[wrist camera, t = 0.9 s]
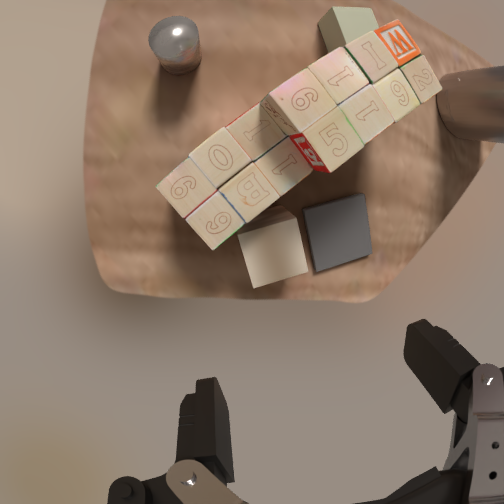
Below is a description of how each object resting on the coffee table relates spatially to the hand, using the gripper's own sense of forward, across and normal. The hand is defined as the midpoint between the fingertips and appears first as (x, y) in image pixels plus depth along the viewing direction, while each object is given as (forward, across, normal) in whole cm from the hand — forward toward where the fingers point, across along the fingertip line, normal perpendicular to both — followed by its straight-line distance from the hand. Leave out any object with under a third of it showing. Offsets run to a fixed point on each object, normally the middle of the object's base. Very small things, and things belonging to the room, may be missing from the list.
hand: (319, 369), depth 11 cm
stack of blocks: (+21, -4, -9) cm, 23 cm away
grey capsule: (+20, +4, -19) cm, 28 cm away
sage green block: (+21, -13, -19) cm, 31 cm away
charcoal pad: (+20, -9, +2) cm, 22 cm away
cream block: (+20, -1, +1) cm, 21 cm away
